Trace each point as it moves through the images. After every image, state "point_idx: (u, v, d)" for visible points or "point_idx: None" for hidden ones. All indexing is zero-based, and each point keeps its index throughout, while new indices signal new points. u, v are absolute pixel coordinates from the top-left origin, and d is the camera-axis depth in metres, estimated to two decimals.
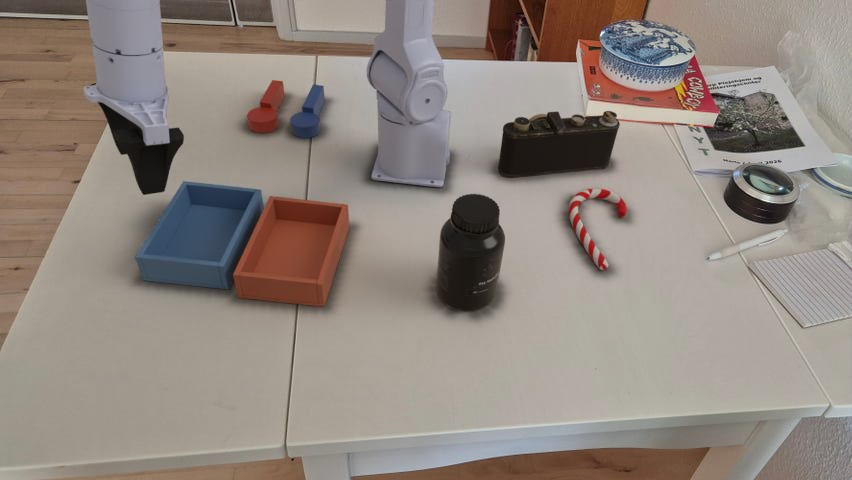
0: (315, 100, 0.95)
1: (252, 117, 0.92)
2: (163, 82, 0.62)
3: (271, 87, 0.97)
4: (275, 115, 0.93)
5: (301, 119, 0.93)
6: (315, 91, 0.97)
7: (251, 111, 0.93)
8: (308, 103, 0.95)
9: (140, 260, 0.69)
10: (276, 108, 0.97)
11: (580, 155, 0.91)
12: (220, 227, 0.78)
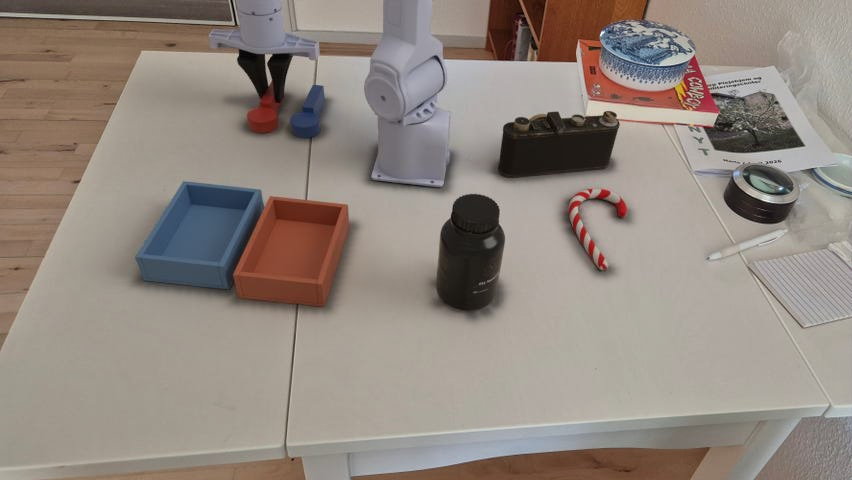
0: (315, 100, 0.95)
1: (252, 117, 0.92)
2: (245, 36, 0.88)
3: (271, 87, 0.97)
4: (275, 115, 0.93)
5: (301, 119, 0.93)
6: (315, 91, 0.97)
7: (251, 111, 0.93)
8: (308, 103, 0.95)
9: (140, 260, 0.69)
10: (276, 108, 0.97)
11: (580, 155, 0.91)
12: (220, 227, 0.78)
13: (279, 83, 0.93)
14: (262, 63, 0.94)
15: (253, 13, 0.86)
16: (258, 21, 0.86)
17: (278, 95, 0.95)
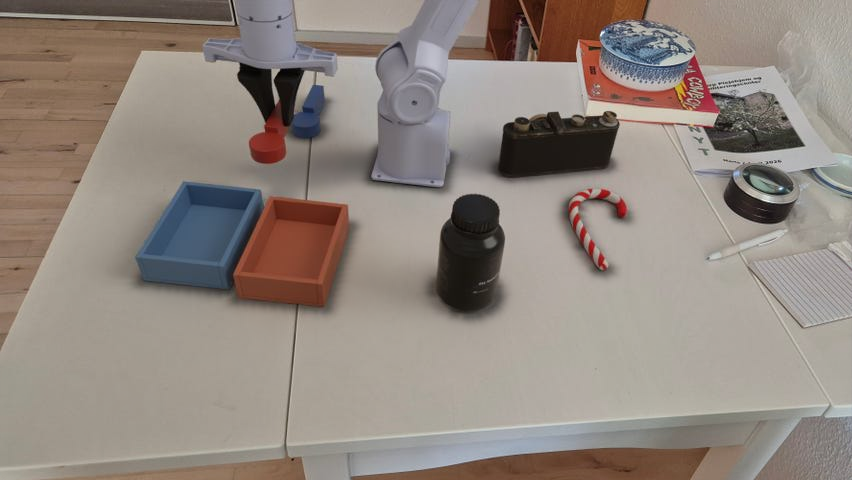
0: (315, 100, 0.95)
1: (255, 145, 0.76)
2: (247, 47, 0.72)
3: (278, 107, 0.80)
4: (283, 142, 0.77)
5: (301, 119, 0.93)
6: (315, 91, 0.97)
7: (254, 137, 0.77)
8: (308, 103, 0.95)
9: (140, 260, 0.69)
10: (284, 133, 0.80)
11: (580, 155, 0.91)
12: (220, 227, 0.78)
13: (288, 103, 0.77)
14: (268, 79, 0.78)
15: None
16: (263, 29, 0.70)
17: (287, 117, 0.79)
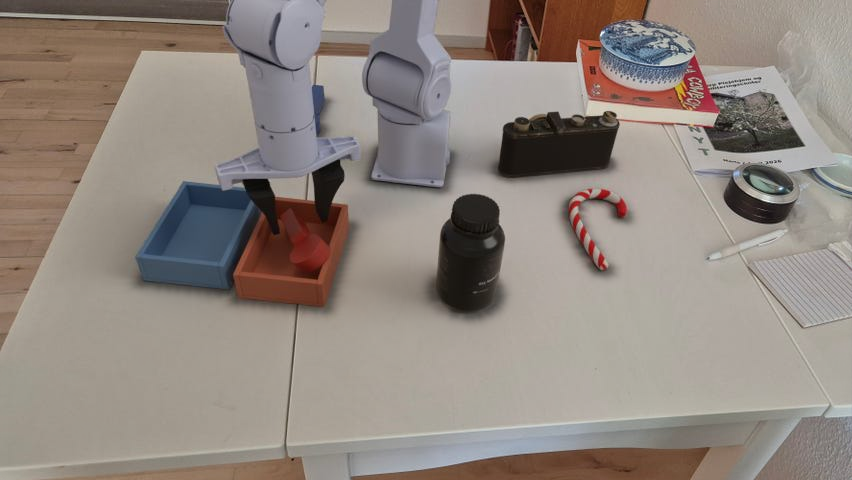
0: (315, 100, 0.95)
1: (299, 258, 0.70)
2: (279, 160, 0.65)
3: (286, 221, 0.75)
4: (317, 236, 0.71)
5: None
6: (315, 91, 0.97)
7: (292, 255, 0.71)
8: None
9: (140, 260, 0.69)
10: (309, 235, 0.75)
11: (580, 155, 0.91)
12: (220, 227, 0.78)
13: (332, 198, 0.73)
14: None
15: (292, 129, 0.64)
16: (300, 137, 0.64)
17: (327, 213, 0.74)
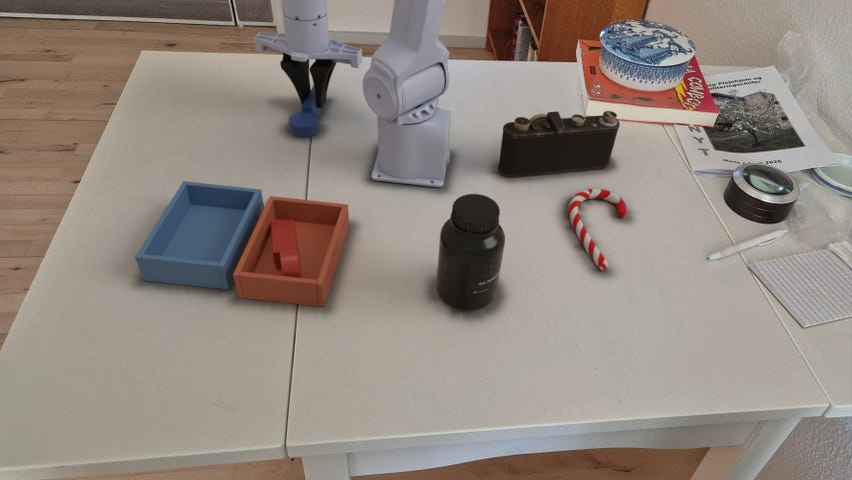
0: None
1: None
2: None
3: None
4: (279, 252, 0.70)
5: (300, 119, 0.93)
6: None
7: None
8: (308, 103, 0.95)
9: (140, 260, 0.69)
10: (291, 240, 0.74)
11: (580, 155, 0.91)
12: (220, 227, 0.78)
13: None
14: None
15: None
16: None
17: None
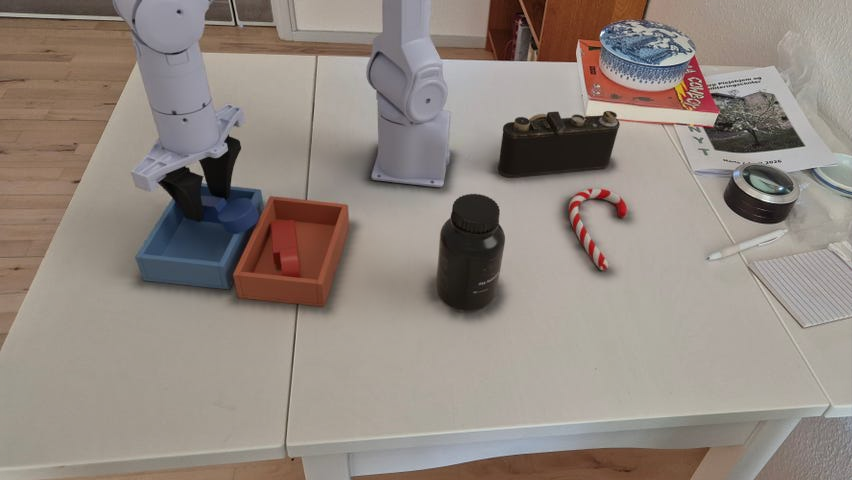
0: (209, 197, 0.75)
1: None
2: None
3: None
4: (279, 252, 0.70)
5: (233, 212, 0.73)
6: None
7: None
8: (211, 202, 0.74)
9: (140, 260, 0.69)
10: (291, 240, 0.74)
11: (580, 155, 0.91)
12: (220, 227, 0.78)
13: None
14: (218, 163, 0.73)
15: None
16: None
17: None
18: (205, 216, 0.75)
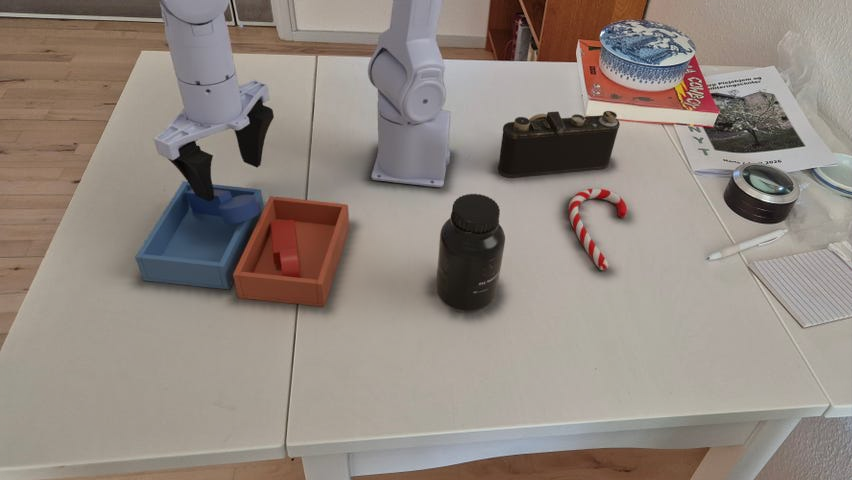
0: (217, 190, 0.76)
1: None
2: None
3: None
4: (279, 252, 0.70)
5: (234, 203, 0.73)
6: None
7: None
8: (216, 193, 0.75)
9: (140, 260, 0.69)
10: (291, 240, 0.74)
11: (580, 155, 0.91)
12: (220, 227, 0.78)
13: None
14: (251, 130, 0.76)
15: None
16: None
17: None
18: (209, 208, 0.76)
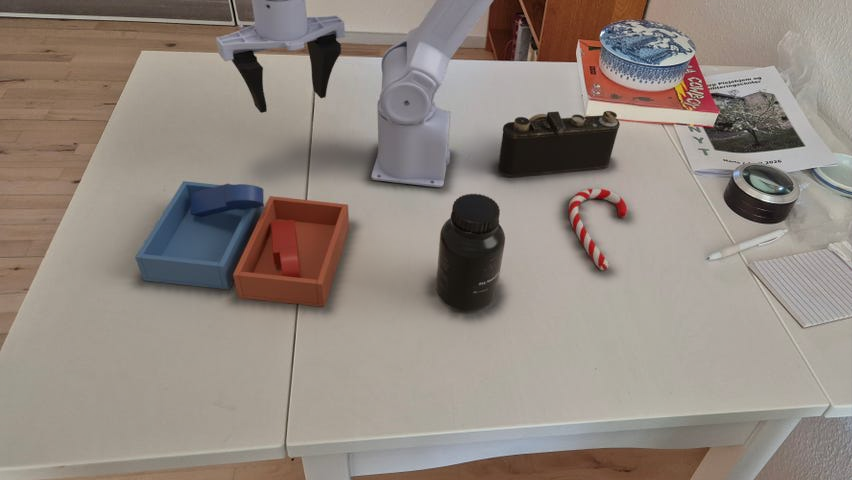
0: None
1: None
2: None
3: None
4: (279, 252, 0.70)
5: None
6: None
7: None
8: None
9: (140, 260, 0.69)
10: (291, 240, 0.74)
11: (580, 155, 0.91)
12: (220, 227, 0.78)
13: (244, 76, 0.78)
14: (318, 61, 0.80)
15: None
16: None
17: None
18: (212, 201, 0.76)
